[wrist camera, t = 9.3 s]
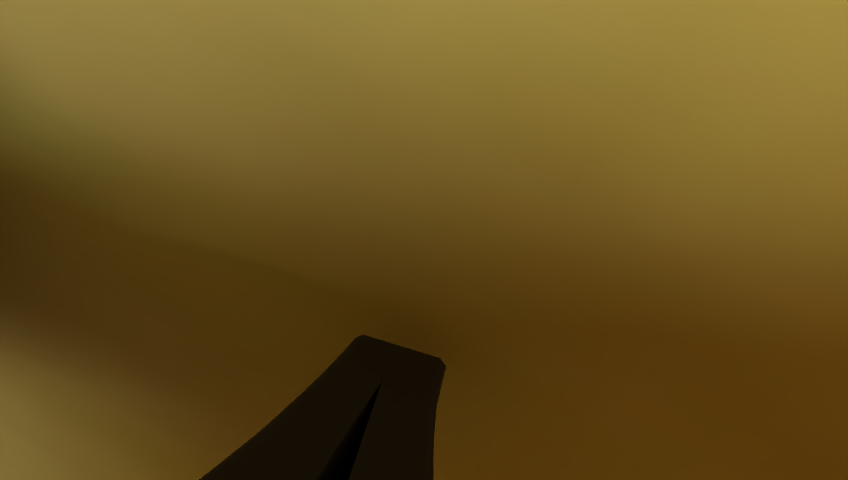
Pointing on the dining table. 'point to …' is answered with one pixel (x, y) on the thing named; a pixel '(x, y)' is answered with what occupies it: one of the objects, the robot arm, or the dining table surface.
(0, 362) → the dining table surface
